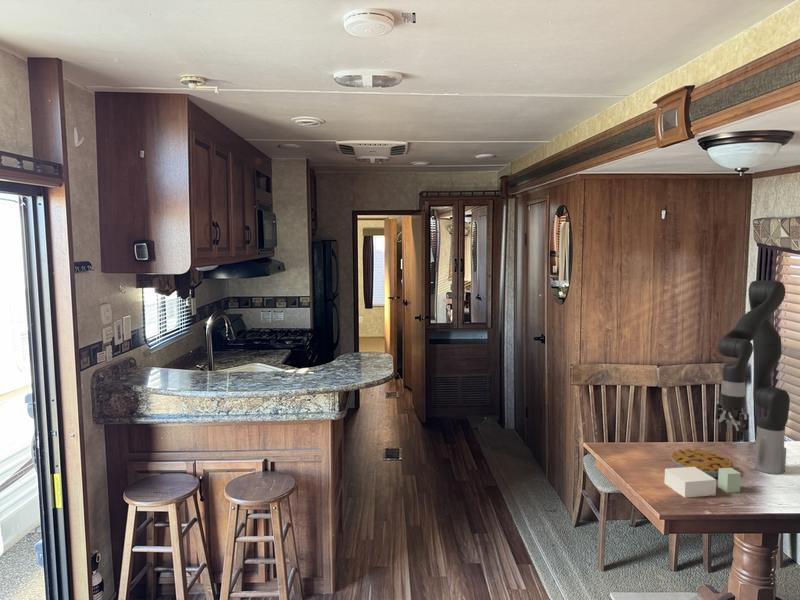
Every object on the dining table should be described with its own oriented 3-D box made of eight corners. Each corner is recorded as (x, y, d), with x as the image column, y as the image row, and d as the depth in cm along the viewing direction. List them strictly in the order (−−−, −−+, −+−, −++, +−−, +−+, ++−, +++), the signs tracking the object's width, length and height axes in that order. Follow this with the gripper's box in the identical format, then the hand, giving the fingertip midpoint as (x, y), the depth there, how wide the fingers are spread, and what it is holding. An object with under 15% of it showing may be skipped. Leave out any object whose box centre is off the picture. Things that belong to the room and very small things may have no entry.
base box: (693, 481, 214) (694, 466, 213) (715, 495, 202) (716, 479, 201) (664, 484, 212) (664, 468, 211) (684, 498, 200) (685, 482, 199)
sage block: (730, 485, 209) (731, 467, 208) (739, 491, 204) (740, 473, 203) (717, 486, 208) (718, 468, 208) (727, 492, 204) (727, 474, 203)
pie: (699, 455, 239) (700, 444, 238) (746, 475, 218) (746, 462, 218) (658, 462, 232) (659, 450, 232) (702, 483, 211) (703, 471, 211)
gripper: (757, 397, 196) (754, 443, 198) (729, 387, 210) (727, 429, 212) (737, 398, 195) (734, 444, 197) (710, 388, 209) (708, 430, 211)
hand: (730, 436), depth 204 cm, fingers open, 8 cm apart
